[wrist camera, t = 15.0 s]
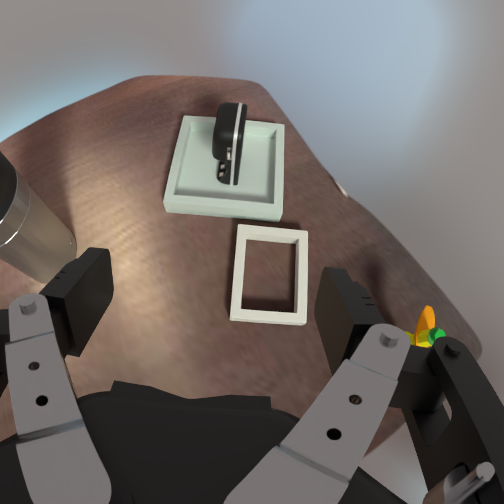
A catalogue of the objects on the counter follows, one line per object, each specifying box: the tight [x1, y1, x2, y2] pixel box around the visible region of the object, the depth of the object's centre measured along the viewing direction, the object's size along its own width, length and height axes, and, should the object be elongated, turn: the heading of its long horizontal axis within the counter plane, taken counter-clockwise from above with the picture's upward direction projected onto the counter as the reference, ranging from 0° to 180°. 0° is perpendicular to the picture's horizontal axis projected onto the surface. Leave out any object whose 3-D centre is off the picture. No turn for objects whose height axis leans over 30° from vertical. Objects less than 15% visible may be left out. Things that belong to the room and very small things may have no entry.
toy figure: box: [405, 306, 445, 348], centre depth 36 cm, size 7×4×12 cm, turn 161°
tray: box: [163, 116, 284, 222], centre depth 46 cm, size 16×16×3 cm
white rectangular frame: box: [230, 224, 308, 325], centre depth 42 cm, size 9×12×2 cm
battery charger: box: [212, 102, 247, 186], centre depth 42 cm, size 7×4×11 cm, turn 175°
